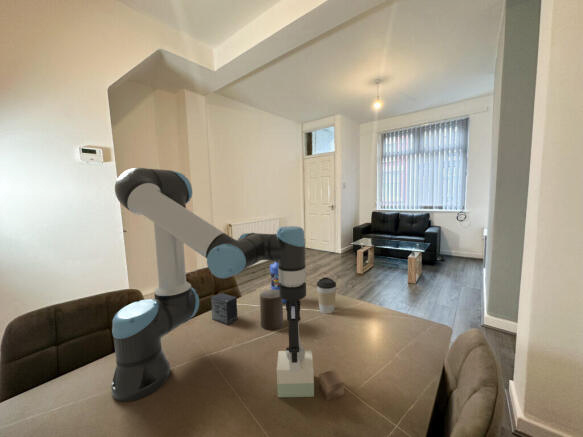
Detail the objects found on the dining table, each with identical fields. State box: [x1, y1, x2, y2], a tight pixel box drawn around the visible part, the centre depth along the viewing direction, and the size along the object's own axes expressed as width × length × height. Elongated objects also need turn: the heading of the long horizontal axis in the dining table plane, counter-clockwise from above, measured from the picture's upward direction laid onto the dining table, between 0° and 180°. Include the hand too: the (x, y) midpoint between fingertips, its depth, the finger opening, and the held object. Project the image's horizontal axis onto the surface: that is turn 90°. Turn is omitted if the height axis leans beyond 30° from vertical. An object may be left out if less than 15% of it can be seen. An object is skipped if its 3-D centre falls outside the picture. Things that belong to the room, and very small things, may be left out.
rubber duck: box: [285, 338, 305, 362], centre depth 69 cm, size 5×7×8 cm
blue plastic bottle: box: [269, 261, 286, 305], centre depth 125 cm, size 9×9×25 cm
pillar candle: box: [259, 289, 284, 331], centre depth 103 cm, size 10×10×15 cm
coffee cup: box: [316, 276, 337, 314], centre depth 114 cm, size 9×9×15 cm
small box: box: [210, 292, 239, 326], centre depth 109 cm, size 11×6×10 cm, turn 58°
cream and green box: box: [276, 350, 315, 398], centre depth 69 cm, size 10×8×8 cm
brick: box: [318, 369, 345, 401], centre depth 67 cm, size 5×5×4 cm
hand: (294, 355), depth 69 cm, fingers open, 12 cm apart
